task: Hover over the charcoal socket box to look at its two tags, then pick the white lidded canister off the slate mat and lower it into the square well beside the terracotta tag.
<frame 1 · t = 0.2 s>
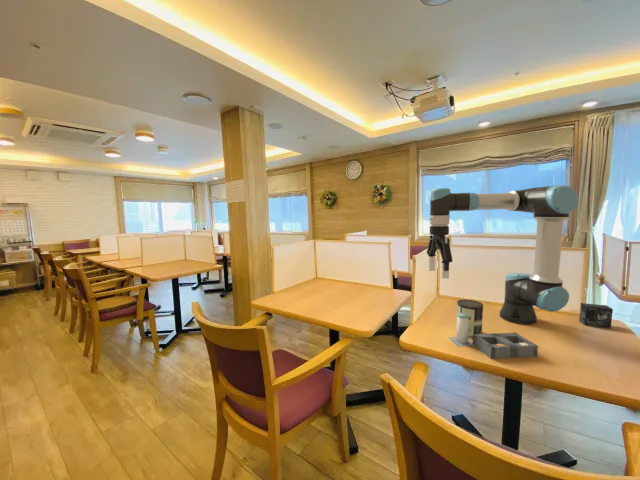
hand: (438, 274, 117), 28 cm above the table, fingers open, 13 cm apart
coffee can: (468, 333, 121), on the table
box: (594, 325, 127), on the table
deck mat: (461, 342, 113), on the table
socket box: (503, 351, 106), on the table
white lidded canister: (462, 341, 113), resting on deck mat
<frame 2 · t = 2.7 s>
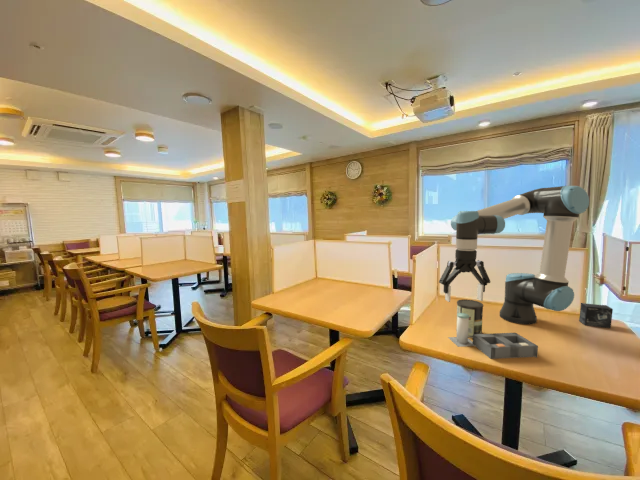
hand: (463, 300, 111), 18 cm above the table, fingers open, 13 cm apart
nothing on the table moved.
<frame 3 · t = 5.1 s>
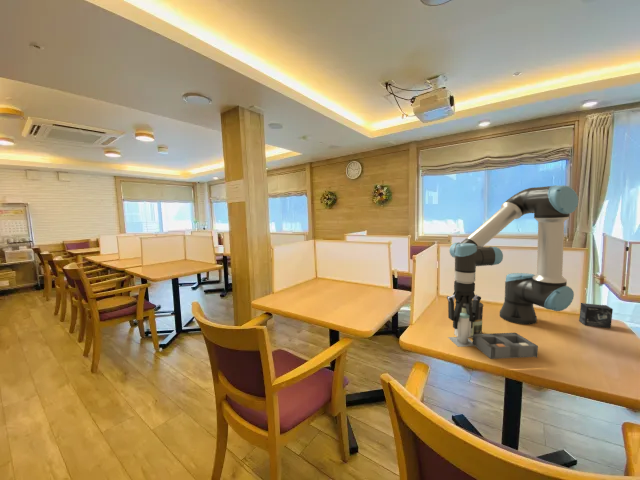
hand: (462, 335, 113), 3 cm above the table, fingers closed on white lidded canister, 4 cm apart
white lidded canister: (462, 341, 113), resting on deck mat, touching gripper
everything else where it was.
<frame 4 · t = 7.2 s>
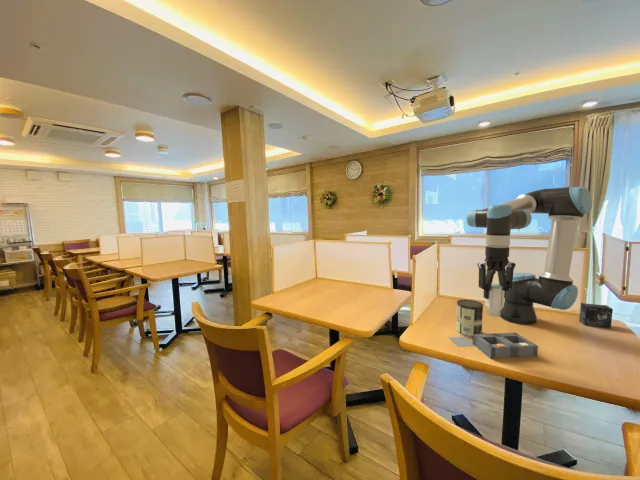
hand: (494, 306, 104), 18 cm above the table, fingers closed on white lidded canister, 4 cm apart
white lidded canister: (493, 314, 104), point 15 cm above the table, touching gripper
everything else where it was.
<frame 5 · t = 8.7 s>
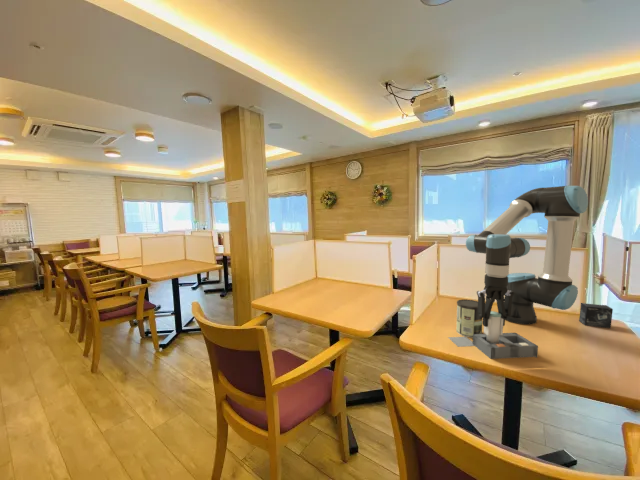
hand: (492, 333, 105), 7 cm above the table, fingers closed on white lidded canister, 4 cm apart
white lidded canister: (492, 341, 105), point 4 cm above the table, touching gripper
everything else where it was.
when the fingers open (5 cm above the table, at t = 9.6 s): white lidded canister drops 1 cm, resting on socket box.
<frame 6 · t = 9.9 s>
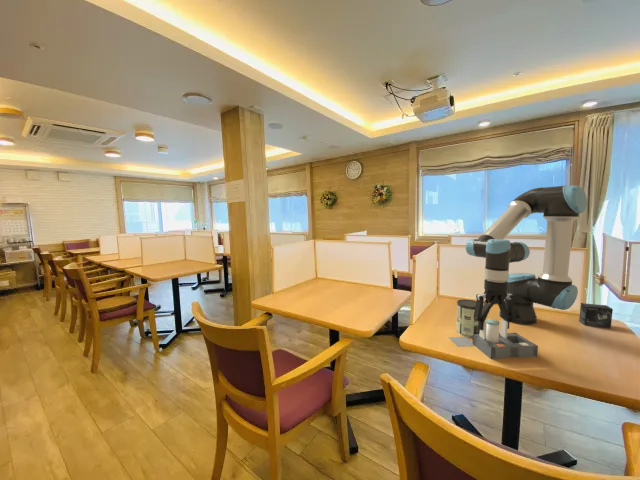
hand: (493, 336, 105), 6 cm above the table, fingers open, 8 cm apart
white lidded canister: (492, 349, 105), point 1 cm above the table, touching socket box
everything else where it was.
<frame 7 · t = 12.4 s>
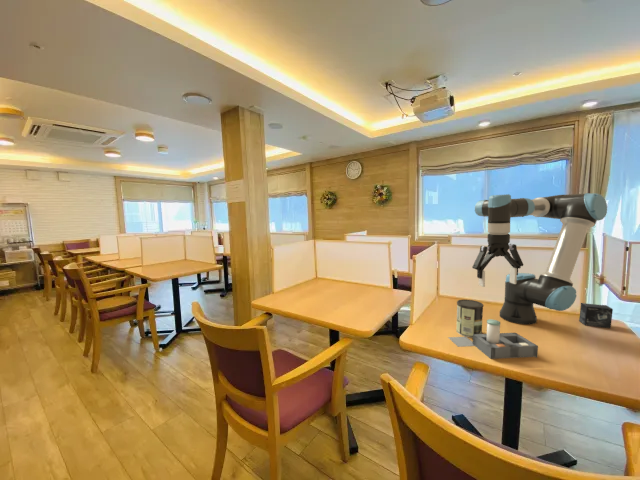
hand: (497, 284, 111), 24 cm above the table, fingers open, 13 cm apart
nothing on the table moved.
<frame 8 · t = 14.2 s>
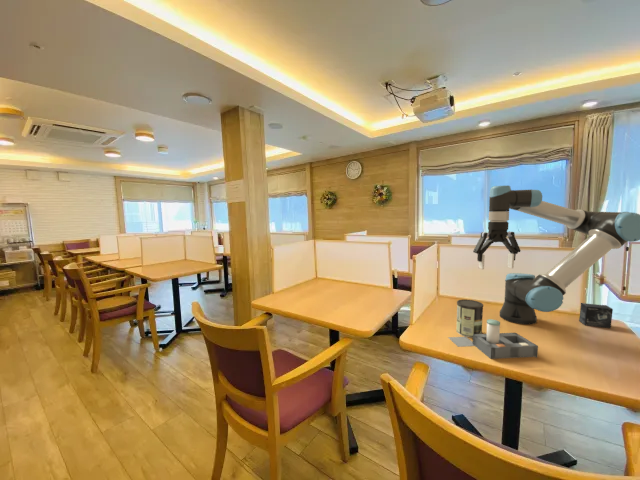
hand: (495, 268, 122), 29 cm above the table, fingers open, 13 cm apart
nothing on the table moved.
at the end: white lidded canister 0.0 cm from the target spot on the socket box, point 0.6 cm above the socket box's base; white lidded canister tilted 1°; the gripper is holding nothing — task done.
